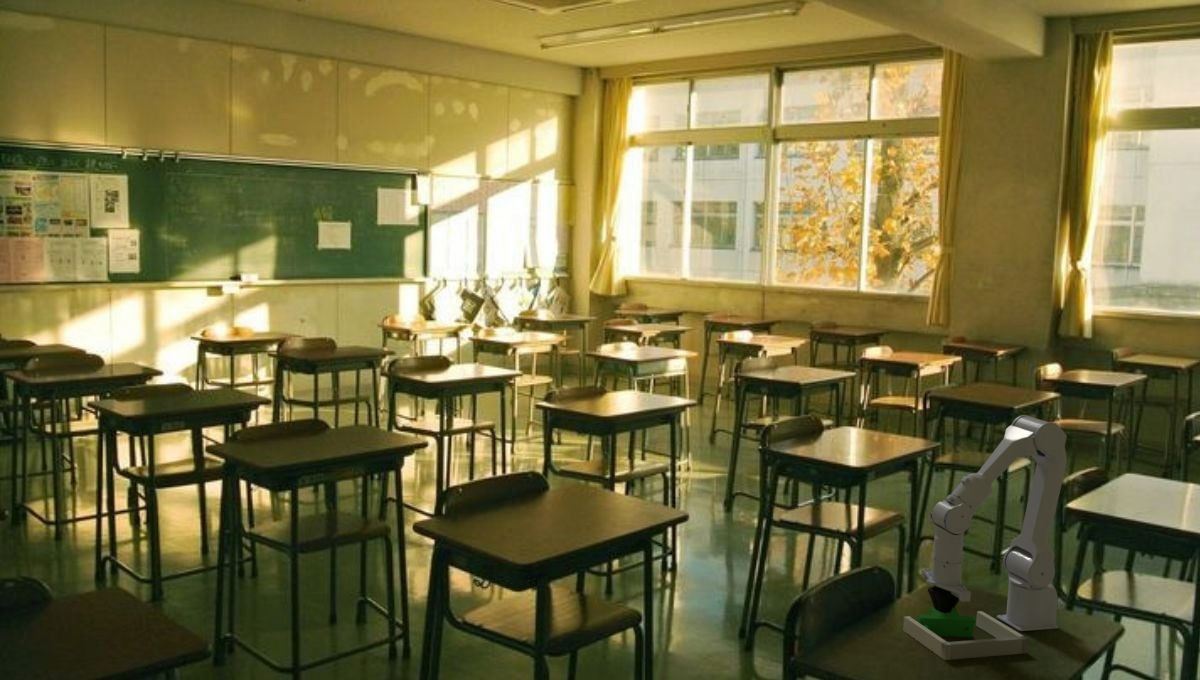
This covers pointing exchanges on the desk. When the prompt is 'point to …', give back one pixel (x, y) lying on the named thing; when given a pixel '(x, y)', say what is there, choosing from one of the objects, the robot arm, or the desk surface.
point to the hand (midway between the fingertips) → (942, 623)
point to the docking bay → (1000, 645)
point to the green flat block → (948, 623)
